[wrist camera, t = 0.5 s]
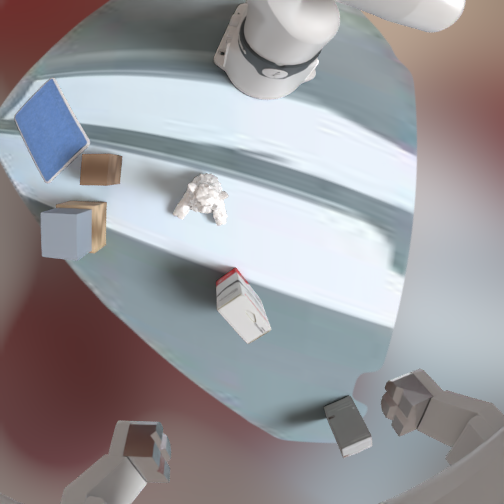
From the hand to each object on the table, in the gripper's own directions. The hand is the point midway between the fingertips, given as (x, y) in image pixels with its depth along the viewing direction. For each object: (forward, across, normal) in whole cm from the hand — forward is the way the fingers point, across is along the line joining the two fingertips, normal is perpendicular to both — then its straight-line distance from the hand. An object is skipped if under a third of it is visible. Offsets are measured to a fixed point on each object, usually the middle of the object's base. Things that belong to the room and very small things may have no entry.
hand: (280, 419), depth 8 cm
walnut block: (+44, +20, -11) cm, 50 cm away
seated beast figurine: (+44, +3, -4) cm, 45 cm away
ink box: (+44, -1, +15) cm, 47 cm away
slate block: (+38, +26, -2) cm, 46 cm away
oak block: (+44, +26, -2) cm, 51 cm away
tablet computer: (+45, +33, -22) cm, 60 cm away
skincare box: (+44, -25, +55) cm, 75 cm away
